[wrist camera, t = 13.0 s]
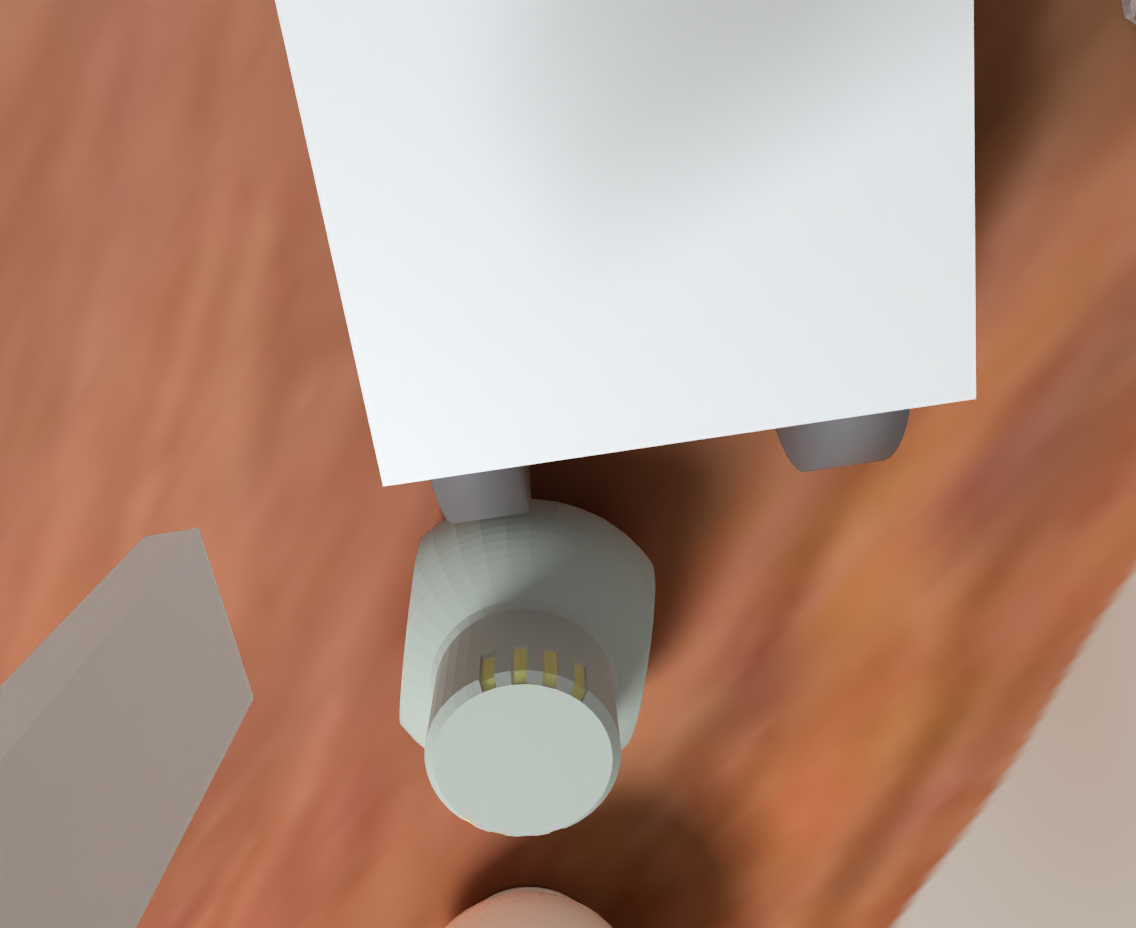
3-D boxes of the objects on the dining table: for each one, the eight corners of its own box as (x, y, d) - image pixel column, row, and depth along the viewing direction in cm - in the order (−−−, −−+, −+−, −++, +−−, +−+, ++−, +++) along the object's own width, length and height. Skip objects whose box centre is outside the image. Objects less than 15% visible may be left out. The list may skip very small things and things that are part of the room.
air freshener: (609, 733, 40) (632, 920, 30) (408, 713, 39) (368, 898, 30) (652, 487, 36) (694, 612, 27) (433, 461, 36) (396, 579, 26)
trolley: (804, -425, 27) (1619, -2110, 7) (847, 411, 36) (1278, 795, 15) (285, -341, 28) (-441, -1722, 7) (446, 470, 36) (326, 929, 15)
